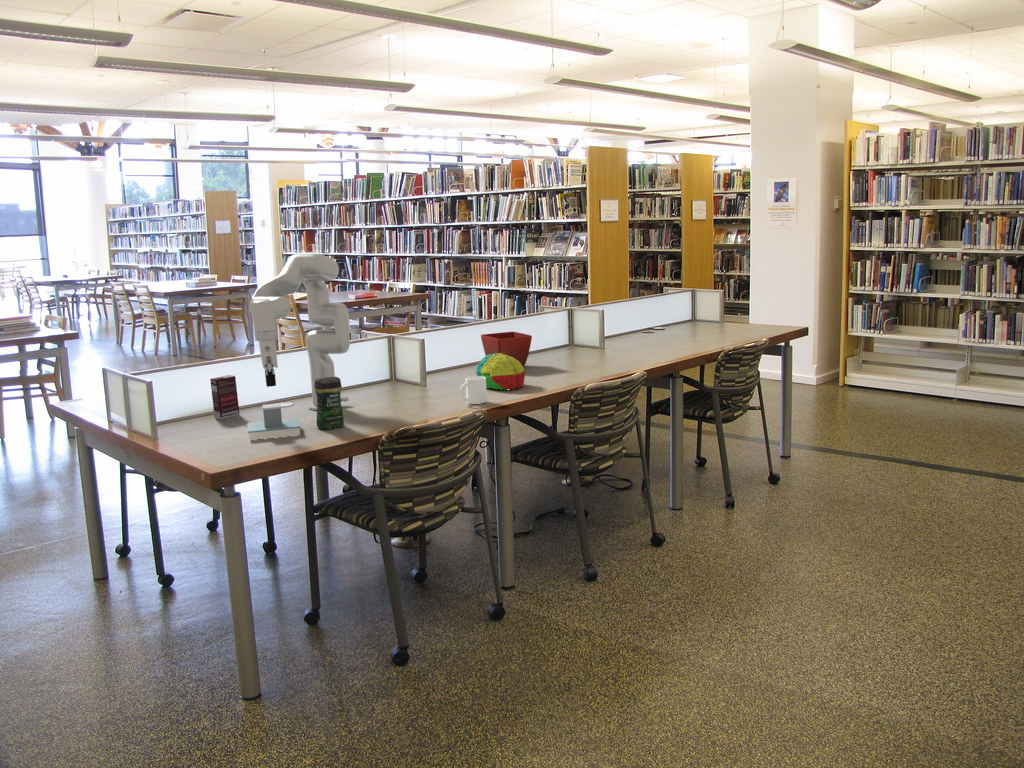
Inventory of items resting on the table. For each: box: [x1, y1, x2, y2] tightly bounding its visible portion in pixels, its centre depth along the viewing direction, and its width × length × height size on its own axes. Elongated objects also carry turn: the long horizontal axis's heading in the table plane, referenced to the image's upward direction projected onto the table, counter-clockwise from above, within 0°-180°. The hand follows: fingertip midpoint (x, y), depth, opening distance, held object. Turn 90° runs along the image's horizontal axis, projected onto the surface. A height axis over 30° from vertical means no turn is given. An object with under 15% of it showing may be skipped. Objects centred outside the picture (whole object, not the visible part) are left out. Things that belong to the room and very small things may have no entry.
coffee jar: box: [314, 376, 345, 430], centre depth 306 cm, size 10×8×19 cm
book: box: [246, 417, 302, 441], centre depth 300 cm, size 18×13×4 cm
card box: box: [261, 402, 283, 428], centre depth 298 cm, size 6×6×7 cm
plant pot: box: [480, 331, 533, 368], centre depth 414 cm, size 19×19×17 cm
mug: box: [459, 375, 488, 405], centre depth 338 cm, size 12×8×10 cm
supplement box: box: [209, 374, 240, 420], centre depth 328 cm, size 9×5×16 cm, turn 141°
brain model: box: [475, 353, 526, 391], centre depth 370 cm, size 24×19×15 cm
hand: (270, 383), depth 295 cm, fingers open, 9 cm apart
